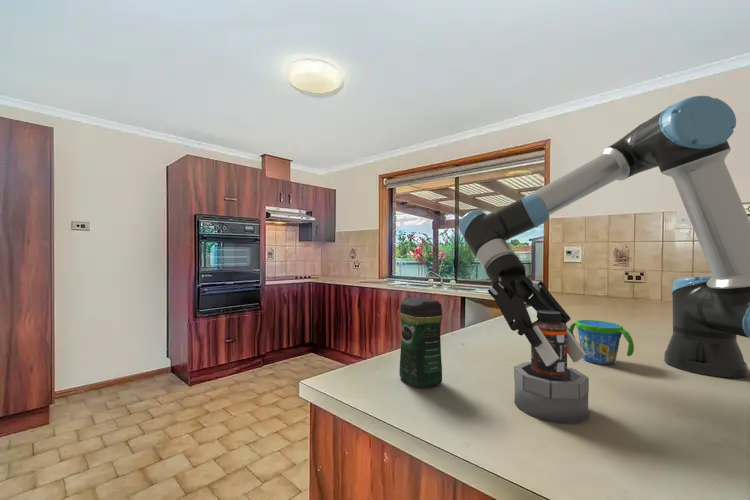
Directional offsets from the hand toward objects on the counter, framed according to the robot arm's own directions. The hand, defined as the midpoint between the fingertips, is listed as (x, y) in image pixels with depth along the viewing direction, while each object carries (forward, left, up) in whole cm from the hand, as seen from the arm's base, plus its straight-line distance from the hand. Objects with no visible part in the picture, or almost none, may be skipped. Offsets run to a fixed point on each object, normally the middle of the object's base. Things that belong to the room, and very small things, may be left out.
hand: (566, 360), depth 59 cm
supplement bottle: (+2, -3, -4) cm, 5 cm away
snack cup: (-25, -33, -10) cm, 43 cm away
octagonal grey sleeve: (+1, -3, -10) cm, 10 cm away
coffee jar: (+24, -14, -10) cm, 30 cm away
